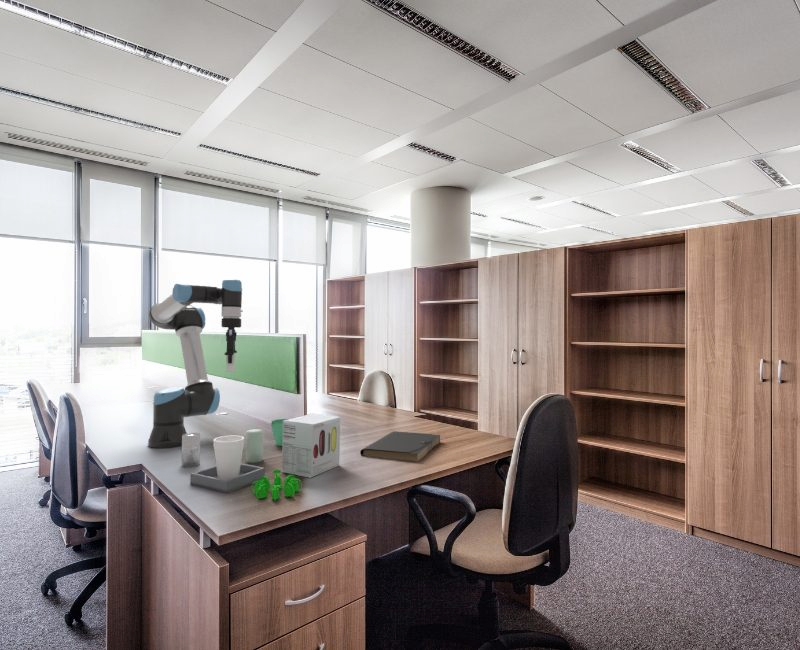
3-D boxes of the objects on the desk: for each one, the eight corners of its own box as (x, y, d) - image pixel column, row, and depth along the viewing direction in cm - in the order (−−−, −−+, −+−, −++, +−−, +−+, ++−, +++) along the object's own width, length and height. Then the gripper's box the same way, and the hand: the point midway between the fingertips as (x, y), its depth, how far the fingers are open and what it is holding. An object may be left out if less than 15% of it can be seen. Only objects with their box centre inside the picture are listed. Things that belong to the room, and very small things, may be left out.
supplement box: (311, 478, 152) (312, 424, 153) (280, 472, 158) (281, 420, 159) (341, 465, 168) (341, 416, 168) (311, 460, 174) (312, 412, 174)
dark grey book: (418, 452, 173) (360, 447, 181) (418, 463, 173) (360, 457, 181) (440, 434, 204) (390, 430, 212) (441, 443, 204) (390, 439, 212)
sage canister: (242, 461, 172) (242, 431, 172) (255, 457, 177) (255, 428, 177) (253, 463, 169) (254, 433, 169) (266, 459, 174) (266, 430, 174)
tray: (190, 484, 145) (190, 473, 145) (230, 471, 159) (230, 461, 160) (226, 493, 138) (226, 481, 138) (264, 478, 152) (264, 467, 152)
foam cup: (249, 478, 149) (249, 438, 149) (221, 485, 142) (222, 443, 142) (234, 472, 156) (234, 434, 156) (207, 478, 149) (208, 438, 149)
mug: (266, 446, 193) (267, 422, 193) (276, 441, 202) (276, 418, 203) (300, 448, 190) (300, 424, 191) (308, 442, 200) (308, 419, 200)
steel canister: (177, 466, 165) (178, 435, 165) (192, 461, 170) (192, 432, 170) (189, 468, 162) (189, 437, 162) (203, 464, 167) (203, 433, 167)
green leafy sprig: (302, 484, 148) (302, 462, 148) (301, 501, 133) (301, 477, 133) (253, 486, 145) (253, 464, 145) (247, 504, 130) (247, 480, 130)
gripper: (240, 317, 174) (239, 373, 174) (242, 318, 198) (241, 367, 198) (219, 316, 172) (218, 373, 172) (223, 318, 196) (222, 367, 196)
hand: (230, 370), depth 185 cm, fingers open, 13 cm apart
